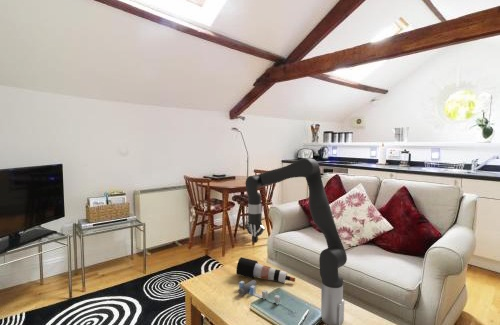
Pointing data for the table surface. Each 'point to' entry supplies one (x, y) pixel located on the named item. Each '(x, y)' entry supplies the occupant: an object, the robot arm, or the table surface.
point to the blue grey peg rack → (253, 292)
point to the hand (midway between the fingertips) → (254, 242)
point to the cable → (260, 271)
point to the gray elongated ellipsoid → (246, 287)
